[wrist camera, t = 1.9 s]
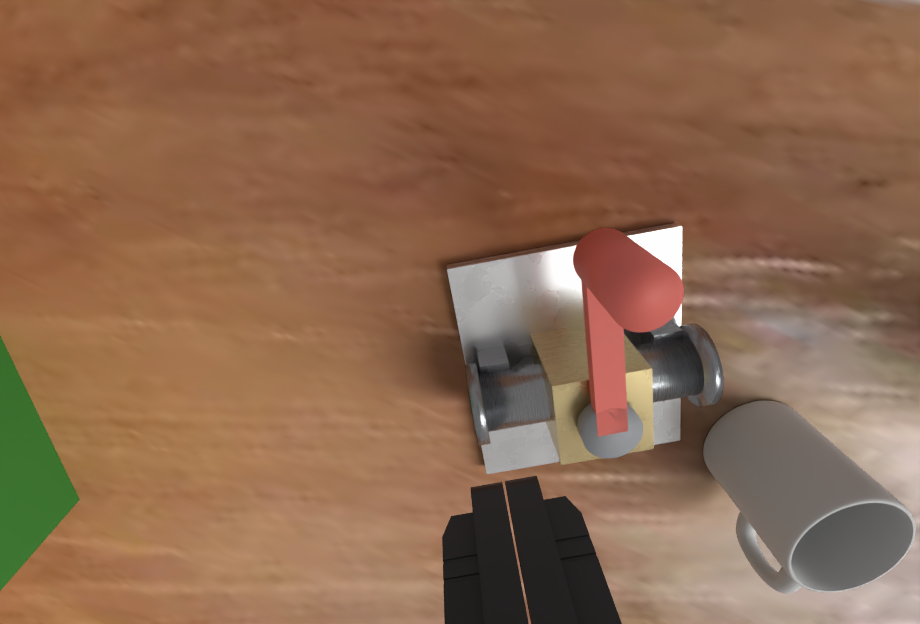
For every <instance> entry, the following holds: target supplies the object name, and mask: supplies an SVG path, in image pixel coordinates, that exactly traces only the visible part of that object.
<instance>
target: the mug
mask: <svg viewBox="0 0 920 624" xmlns="http://www.w3.org/2000/svg"><path fill="white" fill-rule="evenodd" d="M703 456H704V460H705V463H706V465H707V467H708V469H709V471H710V472H711V473H712V475H713V476H714V477H715V479H716V480H717V481H718V483H719V484H720V485H721V486H722V488H723V489H724V490H725V491H726V493H727V494H728V495H729V497H730V498H731V499H732V500H733V502H734V503H735V504H736V506H737V507H738V508H739V510H740V513H739V516H738V519H737V523H736V534H737V538H738V541H739V544H740V546H741V548H742V550H743V552H744V554H745V556H746V558H747V559H748V561H749V562H750V564H751V566H752V567H753V568H754V570H755V571H756V572H757V574H758V575H759V576H760V577H761V578H762V580H763V581H765V582H766V583H767V584H768V585H769V586H770V587H772V588H773V589H775V590H776V591H778V592H781V593H785V594H787V593H794V592H796V591H797V590H798V589H800V588H801V587H804V588H806V589H809V590H813V591H817V592H841V591H846V590H851V589H854V588H858V587H861V586H863V585H866V584H868V583H870V582H872V581H874V580H876V579H878V578H880V577H881V576H883V575H884V574H886V573H887V572H889V571H890V570H891V569H892V568H894V567H895V566H896V565H897V564H898V563H899V562H900V561H901V560H902V559H903V558H904V556H905V555H906V554H907V552H908V551H909V549H910V548H911V545H912V543H913V541H914V537H915V531H916V529H915V521H914V518H913V516H912V515H911V513H910V511H909V510H908V509H907V508H906V507H905V506H904V505H903V504H902V503H901V502H900V501H899V500H898V499H896V498H895V497H894V496H893V495H892V494H891V493H890V492H888V491H887V490H886V489H885V488H884V487H883V486H881V485H880V484H879V483H878V482H877V481H876V480H874V479H873V478H872V477H871V476H870V475H869V474H867V473H866V472H865V471H864V470H863V469H862V468H861V467H859V466H858V465H857V464H856V463H855V462H854V461H852V460H851V459H850V458H849V457H848V456H847V455H845V454H844V453H843V452H842V451H841V450H840V449H838V448H837V447H836V446H835V445H834V444H833V443H832V442H830V441H829V440H828V439H827V438H826V437H825V436H823V435H822V434H821V433H820V432H819V431H818V430H817V429H816V428H814V427H813V426H812V425H811V424H810V423H809V422H808V421H807V420H806V419H805V418H804V417H802V416H801V415H800V414H799V413H798V412H796V411H795V410H794V409H793V408H791V407H789V406H787V405H785V404H783V403H780V402H776V401H767V400H765V401H755V402H750V403H746V404H743V405H741V406H738V407H736V408H734V409H733V410H731V411H729V412H728V413H726V414H725V415H724V416H722V417H721V418H720V419H719V420H718V421H717V422H716V423H715V424H714V425H713V427H712V428H711V430H710V431H709V433H708V435H707V437H706V440H705V443H704V447H703ZM756 533H757V534H758V535H759V537H760V538H761V539H762V541H763V542H764V543H765V545H766V546H767V547H768V549H769V550H770V551H771V553H772V554H773V555H774V557H775V558H776V559H777V561H778V562H779V563H780V565H781V566H782V567H781V569H780V571H779V573H778V572H777V571H776V570H775V569H774V568H773V567H772V566H771V565H770V564H769V562H768V561H767V560H766V558H765V557H764V555H763V553H762V551H761V550H760V547H759V545H758V542H757V539H756Z"/></svg>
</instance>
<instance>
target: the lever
mask: <svg viewBox="0 0 920 624" xmlns="http://www.w3.org/2000/svg"><path fill="white" fill-rule="evenodd" d="M573 267H574V270H575V272H576V274H577V275H578V277H579V278H580V279H581V284H582V296H583V309H584V322H585V334H586V347H587V359H588V372H589V385H590V397H591V403H590V404H588V405H587V406H586V407H585V408H584V409H583V410H582V412H581V413H580V415H579V418H578V422H577V428H578V432H579V434H580V437H581V439H582V441H583V443H584V446H585V447H586V449H587V450H588V451H589V452H590V453H591V454H593V455H595V456H597V457H600V458H616V457H620V456H623V455H625V454H627V453H629V452H630V451H631V450H633V449H634V448H635V447H636V446H637V445H638V443H639V442H640V440H641V438H642V435H643V424H642V421H641V419H640V418H639V416H638V414H637V413H636V411H635V410H634V408H633V407H632V405H631V404H630V403H629V402H627V393H626V370H625V348H624V329H626V330H629V331H632V332H648V331H652V330H655V329H658V328H660V327H662V326H663V325H665V324H666V323H667V322H669V321H670V320H671V319H672V318H673V317H674V316H675V314H676V313H677V312H678V310H679V308H680V306H681V304H682V301H683V297H684V286H683V282H682V279H681V277H680V276H679V274H678V273H677V272H676V271H675V270H674V269H673V268H671V267H670V266H669V265H667V264H666V263H664V262H663V261H662V260H660V259H659V258H657V257H656V256H655V255H653V254H652V253H650V252H649V251H647V250H646V249H645V248H643V247H642V246H640V245H639V244H638V243H636V242H635V241H633V240H632V239H631V238H629V237H628V236H626V235H625V234H623V233H622V232H620V231H619V230H616V229H613V228H600V229H596V230H593V231H591V232H590V233H588V234H587V235H585V236H584V237H583V238H582V239H581V240H580V241H579V243H578V244H577V246H576V248H575V251H574V254H573Z"/></svg>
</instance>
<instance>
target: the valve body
mask: <svg viewBox="0 0 920 624" xmlns="http://www.w3.org/2000/svg"><path fill="white" fill-rule="evenodd" d="M622 233H623V234H625V235H626V236H628V237H629V238H631V239H632V240H633V241H635V242H636V243H638V244H639V245H640V246H642V247H643V248H645V249H646V250H647V251H649V252H650V253H652V254H653V255H655V256H656V257H657V258H659V259H660V260H662V261H663V262H664V263H666V264H667V265H669V266H670V267H671V268H673V269H674V270H675V271H676V272H677V273H678V274H679V276H680V277H681V279H682V226H681V225H679V224H677V223H671V224H666V225H660V226H655V227H649V228H644V229H638V230H633V231H628V232H622ZM579 241H580V240H579ZM579 241H573V242H568V243H562V244H557V245H551V246H546V247H540V248H535V249H530V250H524V251H519V252H513V253H508V254H502V255H497V256H492V257H486V258H481V259H475V260H470V261H464V262H459V263H453V264H448V265H447V272H448V277H449V282H450V288H451V293H452V298H453V303H454V308H455V313H456V318H457V324H458V329H459V334H460V339H461V344H462V349H463V354H464V360H465V373H466V379H467V386H468V392H469V398H470V404H471V409H472V415H473V420H474V425H475V431H476V435H477V440H478V444H479V446H481V447H482V452H483V457H484V462H485V467H486V473H487V474H492V473H497V472H503V471H509V470H514V469H520V468H526V467H532V466H537V465H543V464H549V463H554V462H560V463H561V465H564V464H570V463H576V462H581V461H587V460H593V459H598V458H600V457H597V456H595V455H593V454H591V453H590V452H589V451H588V450H587V449H586V447H585V446H584V443H583V441H582V439H581V437H580V434H579V432H578V428H577V422H578V418H579V415H580V413H581V412H582V410H583V409H584V408H585V407H586V406H587V405H588V404H590V403H591V397H590V385H589V372H588V359H587V347H586V334H585V322H584V309H583V296H582V284H581V279H580V278H579V277H578V275H577V274H576V272H575V270H574V267H573V254H574V251H575V248H576V246H577V244H578V243H579ZM624 348H625V370H626V393H627V402H629V403H630V404H631V405H632V407H633V408H634V410H635V411H636V413H637V414H638V416H639V418H640V419H641V421H642V424H643V435H642V438H641V440H640V442H639V443H638V445H637V446H636V447H635V448H634V449H633V450H631V451H630V452H629V453H633V452H638V451H644V450H650V449H654V445H657V444H663V443H668V442H674V441H680V415H681V398H683V397H688V399H689V400H690V401H691V402H692V403H693V404H695V405H696V406H699V407H702V406H708V405H713V404H716V403H718V401H719V400H720V398H721V396H722V392H723V371H722V366H721V361H720V358H719V355H718V352H717V349H716V347H715V345H714V343H713V341H712V339H711V337H710V336H709V335H708V333H707V332H706V331H705V330H704V329H703V328H702V327H701V326H700V325H697V324H688V325H682V326H681V306H680V308H679V310H678V312H677V313H676V314H675V316H674V317H673V318H672V319H671V320H670V321H669V322H667V323H666V324H665V325H663V326H662V327H660V328H658V329H655V330H652V331H648V332H632V331H629V330H626V329H624Z"/></svg>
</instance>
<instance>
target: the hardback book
mask: <svg viewBox="0 0 920 624" xmlns="http://www.w3.org/2000/svg"><path fill="white" fill-rule="evenodd" d="M78 501H79V498H78V495H77V493H76V491H75V489H74V487H73V485H72V483H71V481H70V479H69V477H68V475H67V473H66V471H65V469H64V467H63V464H62V462H61V460H60V458H59V456H58V454H57V452H56V450H55V448H54V446H53V444H52V442H51V440H50V438H49V436H48V433H47V431H46V429H45V427H44V425H43V423H42V421H41V419H40V417H39V415H38V413H37V411H36V409H35V407H34V405H33V402H32V400H31V398H30V396H29V394H28V392H27V390H26V388H25V386H24V384H23V382H22V380H21V378H20V376H19V374H18V371H17V369H16V367H15V365H14V363H13V361H12V359H11V357H10V355H9V353H8V351H7V349H6V347H5V345H4V343H3V340H2V338H1V336H0V591H1V589H2V588H3V587H4V586H5V585H6V584H7V583H8V581H9V580H10V579H11V578H12V577H13V576H14V574H15V573H16V572H17V571H18V570H19V569H20V568H21V566H22V565H23V564H24V563H25V562H26V561H27V560H28V558H29V557H30V556H31V555H32V554H33V553H34V551H35V550H36V549H37V548H38V547H39V546H40V545H41V543H42V542H43V541H44V540H45V539H46V538H47V537H48V535H49V534H50V533H51V532H52V531H53V530H54V528H55V527H56V526H57V525H58V524H59V523H60V522H61V520H62V519H63V518H64V517H65V516H66V515H67V514H68V512H69V511H70V510H71V509H72V508H73V507H74V506H75V504H76V503H77V502H78Z"/></svg>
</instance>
